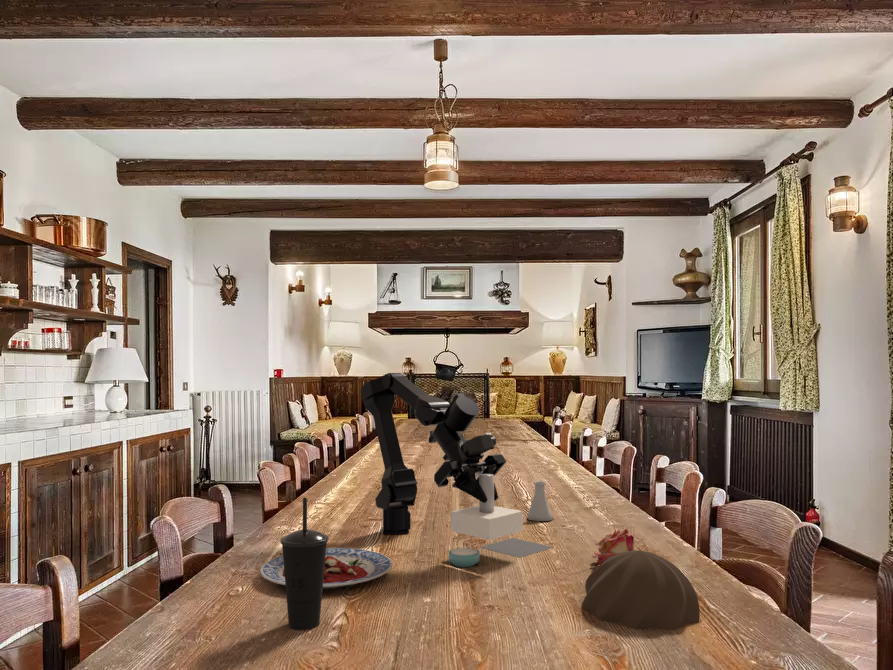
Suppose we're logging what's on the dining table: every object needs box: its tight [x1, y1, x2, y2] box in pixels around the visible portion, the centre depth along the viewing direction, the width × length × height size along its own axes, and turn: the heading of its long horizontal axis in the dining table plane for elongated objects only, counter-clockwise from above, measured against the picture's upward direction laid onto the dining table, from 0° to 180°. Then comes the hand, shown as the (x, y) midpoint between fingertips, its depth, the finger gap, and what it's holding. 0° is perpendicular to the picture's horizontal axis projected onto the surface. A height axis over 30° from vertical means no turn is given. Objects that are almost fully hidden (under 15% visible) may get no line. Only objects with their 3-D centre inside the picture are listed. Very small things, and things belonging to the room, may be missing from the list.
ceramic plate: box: [259, 547, 393, 590], centre depth 135 cm, size 26×26×3 cm
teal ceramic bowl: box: [448, 547, 481, 569], centre depth 141 cm, size 6×6×3 cm
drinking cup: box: [279, 497, 330, 631], centre depth 109 cm, size 8×8×20 cm
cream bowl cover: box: [450, 474, 524, 541], centre depth 147 cm, size 11×11×12 cm
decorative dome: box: [581, 549, 701, 631], centre depth 116 cm, size 19×20×10 cm
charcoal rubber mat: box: [479, 537, 554, 558], centre depth 154 cm, size 12×12×1 cm
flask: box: [526, 481, 554, 522], centre depth 185 cm, size 7×7×10 cm
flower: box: [591, 527, 635, 567], centre depth 139 cm, size 10×9×8 cm
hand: (491, 500), depth 146 cm, fingers closed on cream bowl cover, 3 cm apart
